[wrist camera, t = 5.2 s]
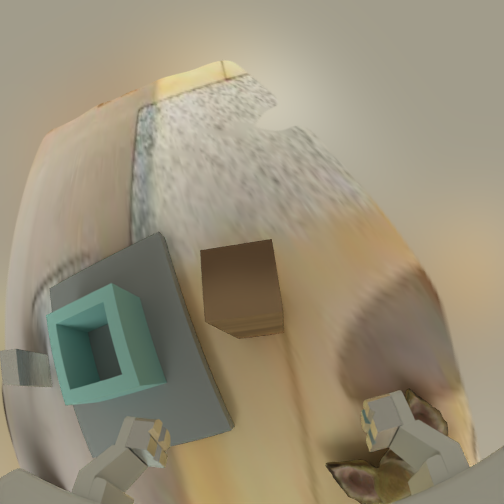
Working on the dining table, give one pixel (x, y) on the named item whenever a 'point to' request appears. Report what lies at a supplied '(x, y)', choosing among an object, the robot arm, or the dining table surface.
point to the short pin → (25, 368)
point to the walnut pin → (242, 289)
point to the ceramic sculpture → (385, 464)
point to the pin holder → (132, 349)
